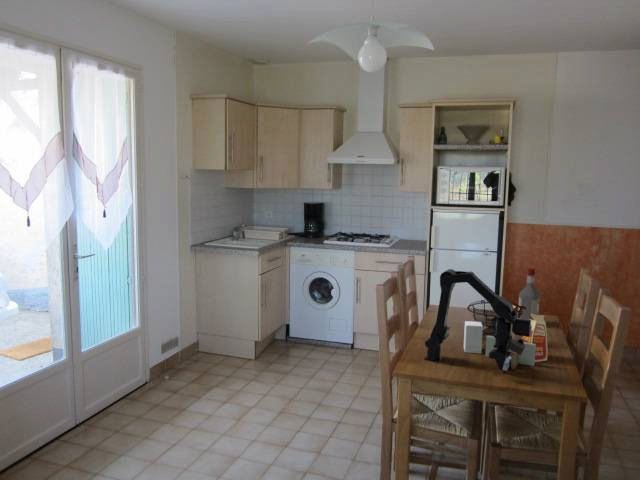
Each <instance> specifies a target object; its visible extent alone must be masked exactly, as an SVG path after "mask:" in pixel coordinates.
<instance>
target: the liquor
mask: <svg viewBox="0 0 640 480" xmlns="http://www.w3.org/2000/svg"><path fill="white" fill-rule="evenodd" d="M526 274H527V275H526V276H527V277H526V285H525V287H524V288H523V289H522V290H520V292H519V294H518V303H517V305H519V306H524V307H526V310H525V309H523V310H522V311H523V314H522V315H521V317H520V319H528V318H530V317H531V314H534V315H540V301H541V300H540V299H541V294H540V292H539V291H538V290H537V289H536V287H535V282H534V281H535V275H536V268H534V267H527V273H526ZM519 310H520V308H519V307H517V312H518V311H519Z"/></svg>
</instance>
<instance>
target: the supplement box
mask: <svg viewBox="0 0 640 480" xmlns="http://www.w3.org/2000/svg"><path fill="white" fill-rule="evenodd" d="M483 327H484V326H483V324H482V322H481V321H472V320H471V321H470V320H469V321H467V320H465V321H464V329H463V330H464V334H463V350H464V351H463V352H464V353H470V354H482V345H483V331H484V330H483V329H484V328H483Z"/></svg>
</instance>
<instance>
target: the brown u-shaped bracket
mask: <svg viewBox="0 0 640 480" xmlns="http://www.w3.org/2000/svg"><path fill="white" fill-rule="evenodd" d="M508 352H511V354H510V355H509V357H512V360H511V366H510V368H511V369H512V370H515V369H516V367H517V366H518V365H519V363H518V359H519V355H518V354H517V353H515V352H514V351H508ZM494 366H497V367H498V365H497V363H496V361H495V360H494Z"/></svg>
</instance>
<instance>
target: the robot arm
mask: <svg viewBox="0 0 640 480" xmlns="http://www.w3.org/2000/svg"><path fill="white" fill-rule="evenodd" d="M459 283H462V284H463V283H467V284H469V286H470V287H472V289H474V290H475V291H476V293H478V294H479V295H480V296H481V297H483V298H484V300H486V301H487V303H489V305H490V307H491V308H492V310H493V311H494V313H495V315H494V316H492V317H491V320H490V321H491V322H495V334H494V335H493V337H494V338H495V344H494V348H497V349H492V350H491V351H490V352H489V357H488V358H489V359H492V360H494V362H495V361H496V363H497V365H498V366H497V365H496V366H497V367H498V370H500V371H503V370H502V369H503V366H504V363H505V360H506V358H508V356H509V355H510V354H511V352H508V351H509V349H510V350H512V351H514V352H515V353H517V354H518V355H521V354H522V352H523V350H524V348H525V344H524V340H523V339H522V337H523V336H526V337H530V336H531V329H532V326H531V320H530V319H520V318H518V314H517V313H515V312H516V311H515V312H514V310H513V305H514V304H513V303H512V302H510V301H509V300H508V299H506V298H504V297H503V296H500V295H498V294H497V293H495V291H493V289H491V287H489V286H488V285H487V284H486V283H485V282H483V280H481V279H480V278H479V277H478V276H477V275H476V274H475V273H474V272H473V271H472V270H471V271H462V270H461V271H460V270H454V269H451V268H449V269H447V270H445V271H443V272H441V274H440V276H439V287H440V297H439V304H438V310H437V314H436V322H435V324H434V326H433V328H432V330H431V332H430V337H429V338H427V339H426V340H424V346H425V348H426V356H424V357H423V360H424V361H425V360H427V361H430V362H435V363H439V362H440V361H442V360H443V359H444V357H443V356H441V353H442V352H441V350H442V349H441V347H442V344H443V343H444V342H445V341H446V340H447V338H449V337H450V331H451V326H448V323H447V322H448V316H449V309H450V304H451V298H452V292H453V289H454V287H455V286H456V284H459ZM511 324H512V332H513V333H515V336H521V337H520V338H519V339H515V338H514V339H512V335H511Z"/></svg>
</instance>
